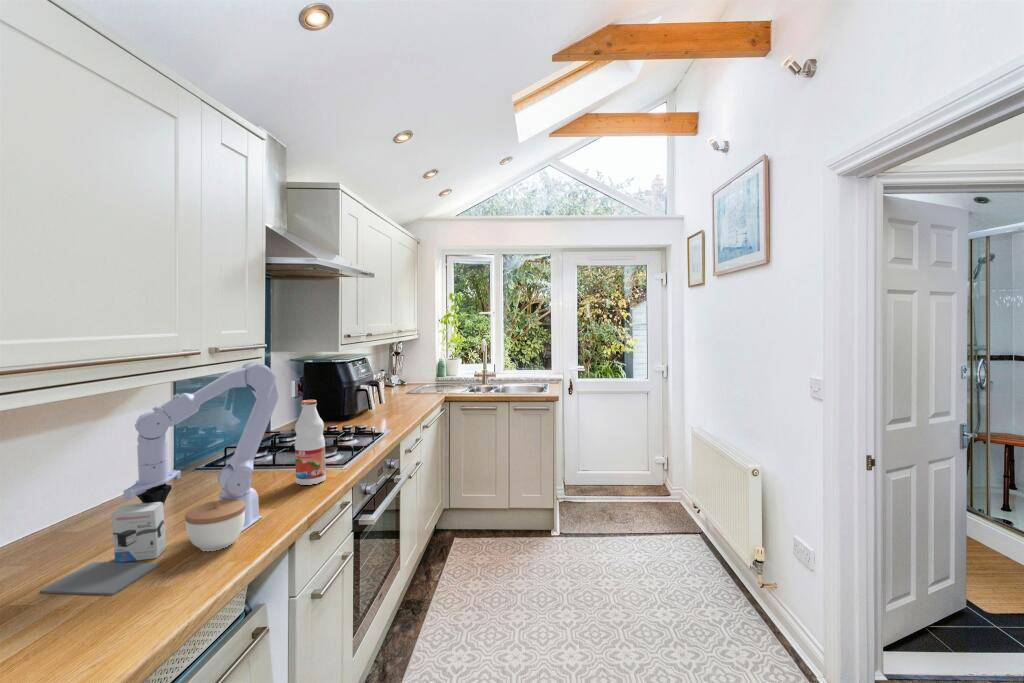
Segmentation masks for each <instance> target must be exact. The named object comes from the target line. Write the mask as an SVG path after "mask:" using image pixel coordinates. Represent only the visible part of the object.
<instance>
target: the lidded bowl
mask: <svg viewBox="0 0 1024 683" xmlns="http://www.w3.org/2000/svg"><path fill="white" fill-rule="evenodd" d="M184 519H185V528H186V533H187V534H186V535H187V537H188V539H189V541H190V542H191V544H192V545H193V546H195V547H196V548H198V549H199V550H200V551H201V550H202V552H205V551H207V553H208V552H209V551H211V552H216V550H217V551H220V549H221V550H223V549H222V548H224V549H226V548H229V547H230V546H232V545H233V544H234V543H233V542H235V540H236V539H237V538H239V536H240V535H241V533H242V532H243V531H242V529H243V526H244V522H245V502H244V501H242V500H238V499H223V500H219V499H214V500H211V501H208V502H204V503H201V504H198V505H196V506H193V507H191V508H190V509H188V510H187V511H186V512H185V513H184ZM241 531H242V532H241ZM231 544H232V545H231ZM229 545H230V546H229ZM228 546H229V547H228ZM225 547H226V548H225Z"/></svg>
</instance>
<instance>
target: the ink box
mask: <svg viewBox="0 0 1024 683" xmlns="http://www.w3.org/2000/svg"><path fill="white" fill-rule="evenodd" d="M165 524H166V523H165V512H164V507H163V503H162V502H152V503H142V502H141V503H133V504H124V505H122V506H120V507H119V508H118V509H117V510H115V511H114V512H113V513H112V514H111V525H112V537H113V538H112V539H113V540H112V541H113V549H114V550H113V551H114V553H113V554H114V562H117V563H130V562H136V561H143V560H150V559H151V560H152V559H158V558H159V557H160V555H162V553H163V552H164V551H165V550H166V548H167V544H166V528H165Z"/></svg>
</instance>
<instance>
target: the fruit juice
mask: <svg viewBox="0 0 1024 683" xmlns="http://www.w3.org/2000/svg"><path fill="white" fill-rule="evenodd" d="M317 404H318V402H317V400H316V399H306V400H305V399H304V400H301V401H300V405H301V407H302V408H301V412H300V414H299V418H298V420H297V421H296V423H295V425H294V430H295V431H294V432H295V434H296V438H295V441H294V452H295V453H294V454H295V456H294V457H295V458H294V459H295V461H294V462H295V482H296V485H298V484H300V485H310V484H315V483H319V482H322V481H324V480H325V481H326V479H327V478H326V477H327V473H326V470H327V469H326V468H327V467H326V440H325V437H324V429H325V423H324V421H323V419H322V418H321V417H320V414H319V412H318V410H317ZM325 481H324V482H325ZM322 483H323V482H322ZM300 485H299V486H300Z"/></svg>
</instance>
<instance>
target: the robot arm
mask: <svg viewBox="0 0 1024 683" xmlns="http://www.w3.org/2000/svg"><path fill="white" fill-rule="evenodd" d="M276 378H277V377H276V375H275V374H274V372H273V371H272V369H271V368H270V367H268V366H267V365H266V364H263V363H262V364H261V363H258V362H247V363H244V364H243V365H242V366H239V367H236V368H234V369H232V370H230V371H227V372H226V373H225V374H223V375H222V376H220V377H218V378H217V379H214V380H213V381H211V382H210V383H207V385H205V386H204V387H202V388H200V389H199V390H197V391H195V392H193V393H188V392H183V393H181V394H179V393H176V394H174V395H173V396H172V399H171V400H169V401H167V402H166V403H163V404H162V405H160V406H156V405H155V406H154V407H152V410H153V411H148V412H147V411H146V412H144V413H143V414H141V415H140V416H138V418H137V419H136V421H135V425H134V427H135V430H136V431H137V432H138V434H137V436H138V437H137V438H136V440H137V446H136V449H137V450H136V451H137V471H138V479H136V480H135V483H134V484H133V485H131V486H130V487H128V488H125V489H124V490H123V499H125V500H126V499H127V500H129V499H130V500H132V499H135V498H136V496H137V498H138V499H139V500H140V501H141V503H152V502H162V503H163V508H164V507H165V503H166V500H167V498H168V495H169V493H170V492H171V490H172V489H173V487H172V486H173V485H172V484H167V483H169V482H172V481H174V480H178V479H181V477H182V476H181V475H182V474H181V472H182V471H181V470H170V471H169V461H168V460H169V458H168V441H167V440H166V433H167V431H168V429H169V428H170V427H174V426H176V425H178V424H179V423H182V421H184V420H186V419H189V417H191V416H192V415H195V414H197V412H199V410H200V407H201V405H202V404H203V403H205V402H207V401H209V400H212V399H213V398H216V396H219V395H220V394H221V395H222V393H225V392H226V391H228V390H230V389H233V388H247V387H248V388H249V389H250V390H251V392H252V394H253V395H254V397H255V399H256V400H255V401H254V404H253V407H252V409H251V412H250V414H249V417H248V420H247V421H246V424H245V426H244V428H243V431H242V434H241V435H240V438H239V440H238V443H237V445H236V448H235V450H234V454H233V455H232V456H231V457H230V458H229V459H228V460H227V463H226V465H225V466H224V467H223V468H222V469H221V470H220V471H219V473H218V475H217V482H218V484H219V485H220V487H222V488H221V490H220V492H219V496H218V497H219V498H218V500H223V499H238V500H242V501H244V502H245V522H244V526H243V529H242V531H241V533H243V531H245V530H246V529H248V528H249V527H251V526H252V525H254V524H255V523H256V522H258V521H259V520H260V518H261V517H262V518H263V516H262V515H260V514H259V513H260V512H259V511H260V510H259V495H258V492H257V491H256V489H255V488H253V487H251V486H252V485H253V484H252V483H253V482H252V480H253V479H252V474H253V472H254V460H255V458H256V456H257V455H256V454H257V453H258V450H259V448H260V445H261V442H262V440H263V437H264V436H265V433H266V430H267V428H268V425H269V422H270V421H271V419H272V415H273V413H274V412H275V411H274V410H275V408H276V407H277V406H276V405H277V402H278V400H279V394H278V393H279V392H278V387H277V382H276ZM262 518H261V519H262ZM253 523H254V524H253Z"/></svg>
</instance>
